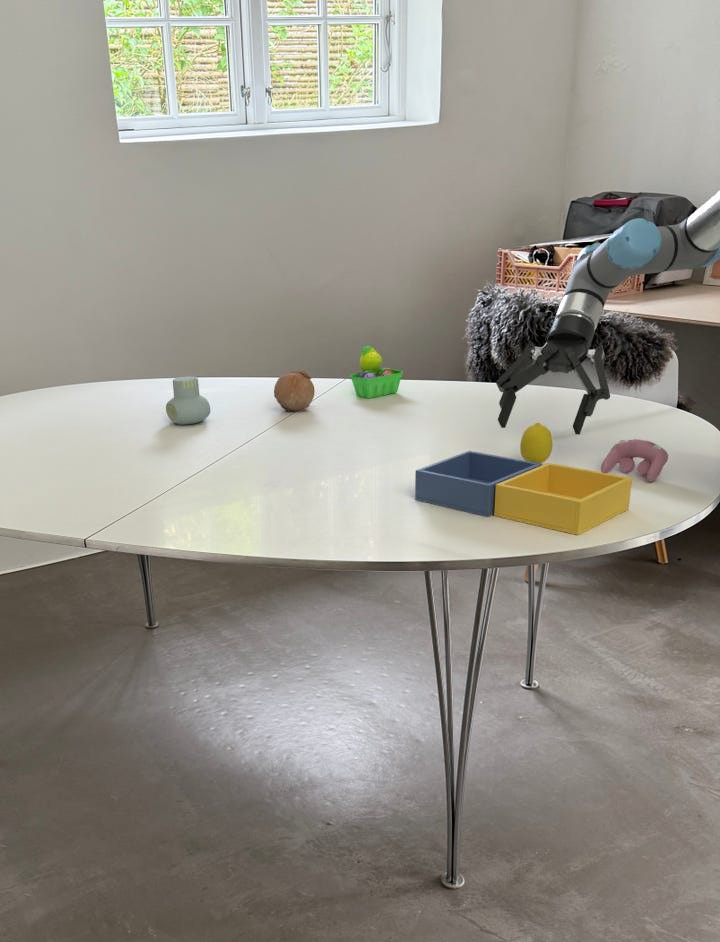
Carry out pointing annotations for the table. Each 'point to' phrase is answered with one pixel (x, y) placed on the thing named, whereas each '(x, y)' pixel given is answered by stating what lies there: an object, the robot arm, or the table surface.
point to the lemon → (536, 443)
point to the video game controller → (640, 449)
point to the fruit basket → (374, 376)
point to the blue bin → (467, 481)
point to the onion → (294, 391)
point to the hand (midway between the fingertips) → (537, 427)
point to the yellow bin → (563, 498)
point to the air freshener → (187, 402)
